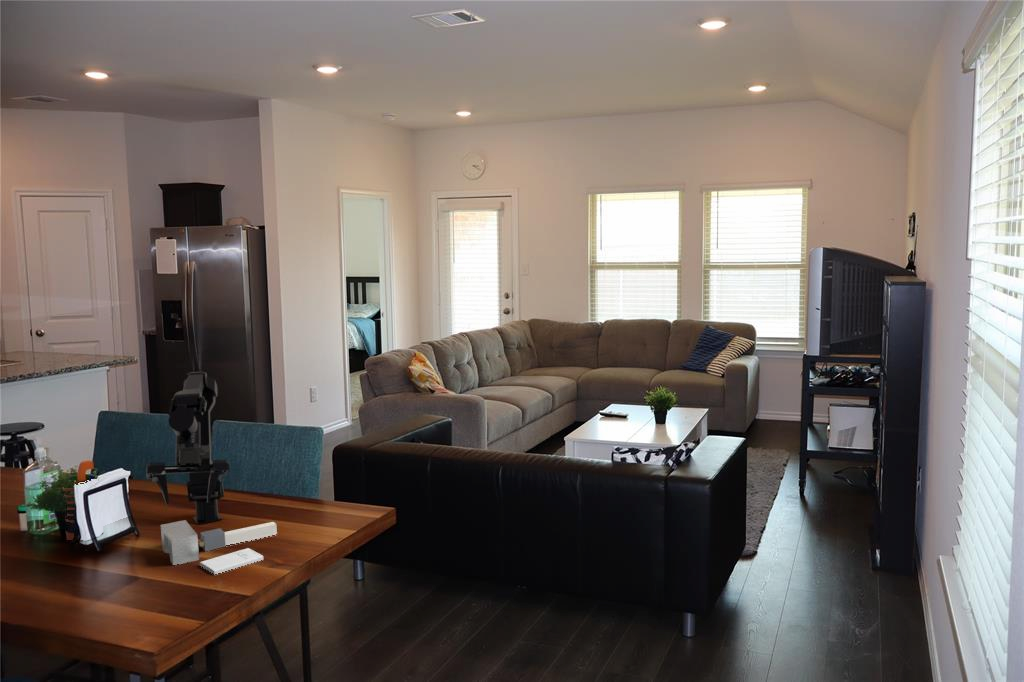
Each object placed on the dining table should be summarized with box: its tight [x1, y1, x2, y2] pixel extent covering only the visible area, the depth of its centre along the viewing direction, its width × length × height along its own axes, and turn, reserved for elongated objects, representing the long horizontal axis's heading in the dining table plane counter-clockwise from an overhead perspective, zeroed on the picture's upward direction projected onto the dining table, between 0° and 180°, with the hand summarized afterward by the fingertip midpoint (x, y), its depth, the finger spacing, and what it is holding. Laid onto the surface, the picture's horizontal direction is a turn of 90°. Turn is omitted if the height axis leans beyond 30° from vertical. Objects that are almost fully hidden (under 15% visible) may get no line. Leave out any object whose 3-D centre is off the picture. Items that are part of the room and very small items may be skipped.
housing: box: [160, 519, 200, 566], centre depth 202 cm, size 13×6×6 cm, turn 34°
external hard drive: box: [199, 547, 264, 576], centre depth 196 cm, size 2×8×12 cm
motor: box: [61, 460, 99, 541], centre depth 217 cm, size 10×9×20 cm
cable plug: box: [198, 521, 278, 552], centre depth 210 cm, size 20×4×4 cm, turn 124°
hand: (188, 504), depth 197 cm, fingers open, 9 cm apart
